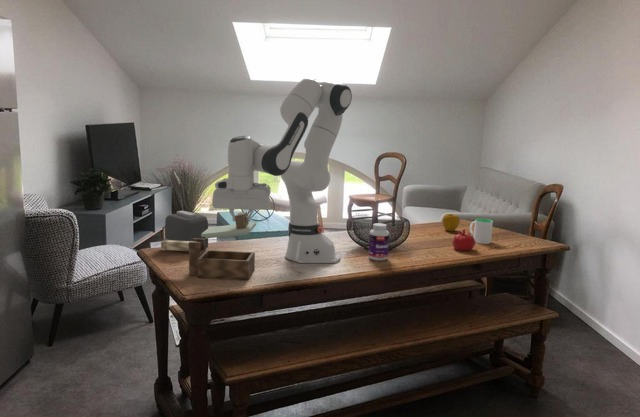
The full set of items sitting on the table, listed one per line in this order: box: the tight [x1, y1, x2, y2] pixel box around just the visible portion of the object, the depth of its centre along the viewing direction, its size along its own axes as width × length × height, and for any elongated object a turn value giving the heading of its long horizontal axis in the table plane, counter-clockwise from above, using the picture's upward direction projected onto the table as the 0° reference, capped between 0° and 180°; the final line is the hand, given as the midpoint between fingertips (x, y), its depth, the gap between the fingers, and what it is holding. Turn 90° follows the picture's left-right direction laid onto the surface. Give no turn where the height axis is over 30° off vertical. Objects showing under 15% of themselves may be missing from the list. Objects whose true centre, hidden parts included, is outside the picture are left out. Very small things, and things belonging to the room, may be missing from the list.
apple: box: [442, 213, 460, 232], centre depth 277 cm, size 9×8×9 cm
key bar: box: [160, 239, 195, 252], centre depth 194 cm, size 12×4×3 cm, turn 87°
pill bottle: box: [367, 222, 390, 262], centre depth 220 cm, size 8×8×14 cm
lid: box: [201, 211, 257, 240], centre depth 192 cm, size 17×11×6 cm, turn 86°
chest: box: [188, 238, 256, 281], centre depth 194 cm, size 22×12×12 cm, turn 87°
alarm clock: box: [164, 210, 209, 253], centre depth 225 cm, size 16×11×16 cm
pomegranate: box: [451, 229, 476, 252], centre depth 240 cm, size 10×10×9 cm
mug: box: [468, 218, 494, 245], centre depth 257 cm, size 12×8×10 cm
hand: (241, 221), depth 191 cm, fingers closed on lid, 3 cm apart
